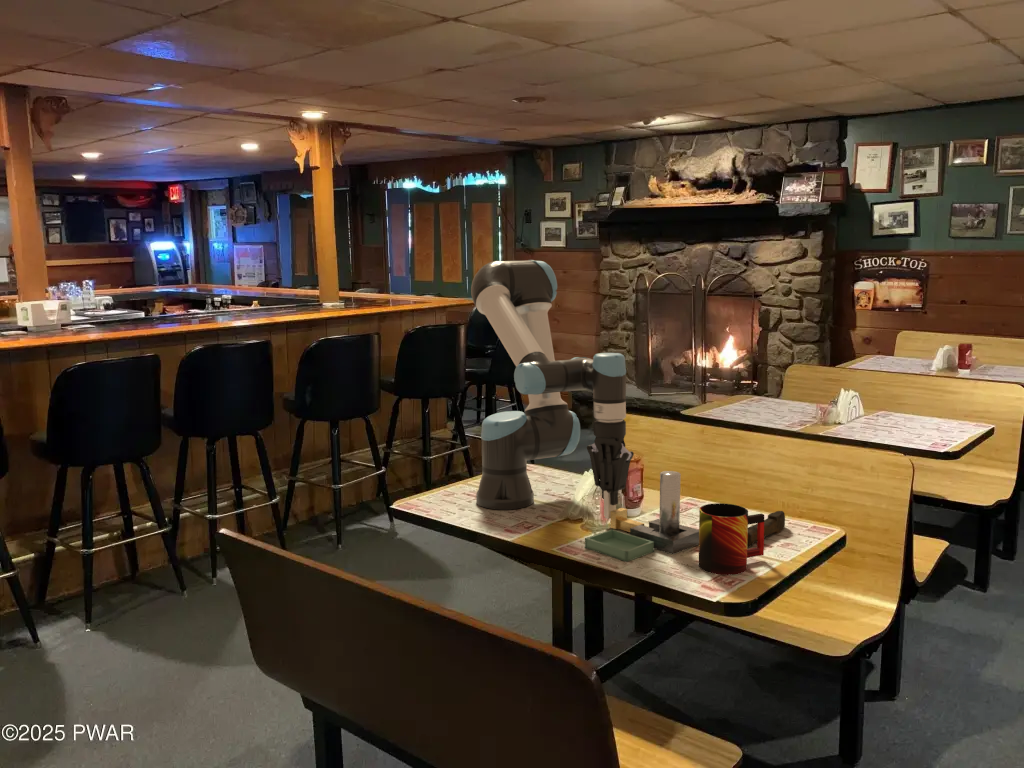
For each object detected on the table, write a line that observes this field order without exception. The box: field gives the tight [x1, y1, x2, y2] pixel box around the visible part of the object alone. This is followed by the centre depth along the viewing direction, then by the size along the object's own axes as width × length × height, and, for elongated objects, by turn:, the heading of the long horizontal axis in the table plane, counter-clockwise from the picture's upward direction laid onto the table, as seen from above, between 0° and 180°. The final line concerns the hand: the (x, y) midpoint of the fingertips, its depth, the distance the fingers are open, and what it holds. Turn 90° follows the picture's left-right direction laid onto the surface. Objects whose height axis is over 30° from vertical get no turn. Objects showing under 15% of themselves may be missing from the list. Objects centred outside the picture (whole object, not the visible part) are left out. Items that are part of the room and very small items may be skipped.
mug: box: [698, 502, 765, 576], centre depth 172 cm, size 10×14×12 cm
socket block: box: [629, 518, 699, 555], centre depth 186 cm, size 12×10×3 cm
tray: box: [584, 528, 655, 563], centre depth 182 cm, size 12×9×2 cm
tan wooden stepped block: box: [610, 507, 645, 533], centre depth 194 cm, size 8×4×4 cm, turn 41°
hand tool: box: [747, 510, 786, 549], centre depth 189 cm, size 19×4×5 cm, turn 132°
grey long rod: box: [658, 470, 682, 536], centre depth 185 cm, size 4×4×16 cm
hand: (610, 517), depth 198 cm, fingers closed
